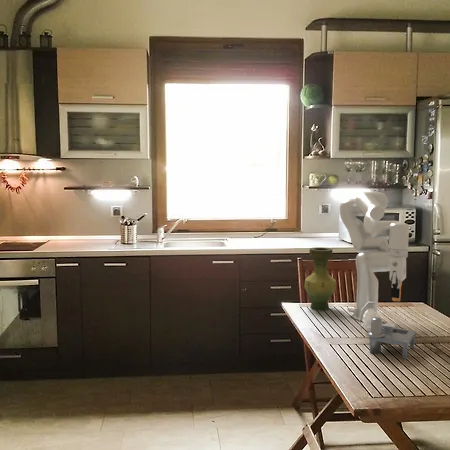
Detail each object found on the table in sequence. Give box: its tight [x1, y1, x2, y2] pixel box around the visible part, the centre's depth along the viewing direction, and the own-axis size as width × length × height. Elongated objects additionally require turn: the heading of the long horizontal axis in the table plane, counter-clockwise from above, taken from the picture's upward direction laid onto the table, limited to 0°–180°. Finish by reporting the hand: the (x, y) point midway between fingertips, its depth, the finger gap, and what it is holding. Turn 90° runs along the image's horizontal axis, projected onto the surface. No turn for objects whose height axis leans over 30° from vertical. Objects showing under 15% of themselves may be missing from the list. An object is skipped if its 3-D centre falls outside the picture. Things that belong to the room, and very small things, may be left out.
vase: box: [303, 246, 337, 312], centre depth 249 cm, size 16×16×30 cm
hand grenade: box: [358, 302, 378, 332], centre depth 214 cm, size 8×6×13 cm
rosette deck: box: [366, 317, 417, 360], centre depth 192 cm, size 18×17×13 cm
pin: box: [391, 279, 402, 302], centre depth 206 cm, size 4×4×10 cm
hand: (396, 296), depth 206 cm, fingers closed on pin, 3 cm apart
